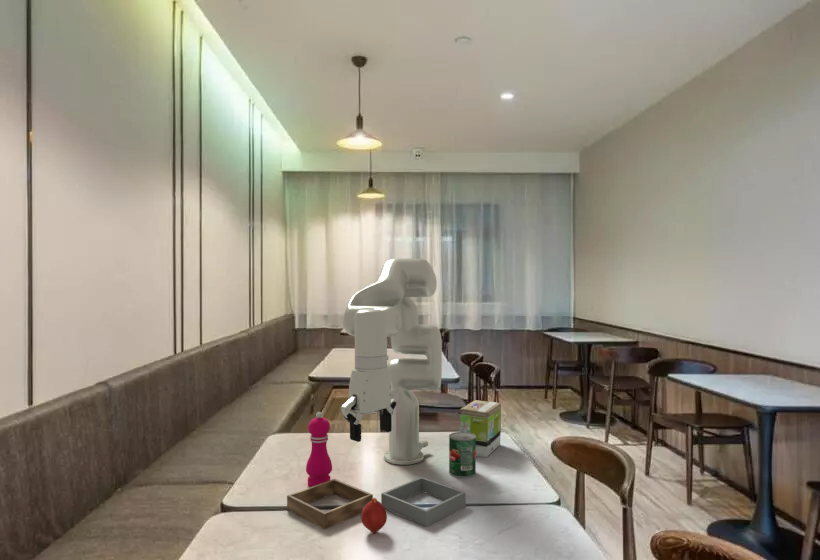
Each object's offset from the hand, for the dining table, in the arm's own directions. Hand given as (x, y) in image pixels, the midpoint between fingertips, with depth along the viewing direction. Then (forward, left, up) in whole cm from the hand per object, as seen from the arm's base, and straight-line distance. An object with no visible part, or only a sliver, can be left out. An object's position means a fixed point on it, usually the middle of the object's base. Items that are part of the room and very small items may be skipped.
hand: (371, 435), depth 125 cm
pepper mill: (-6, -28, -21) cm, 36 cm away
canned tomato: (-40, -4, -21) cm, 46 cm away
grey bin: (-15, +3, -21) cm, 26 cm away
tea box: (-62, -13, -21) cm, 67 cm away
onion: (+2, +4, -21) cm, 21 cm away
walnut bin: (+2, -13, -21) cm, 25 cm away
